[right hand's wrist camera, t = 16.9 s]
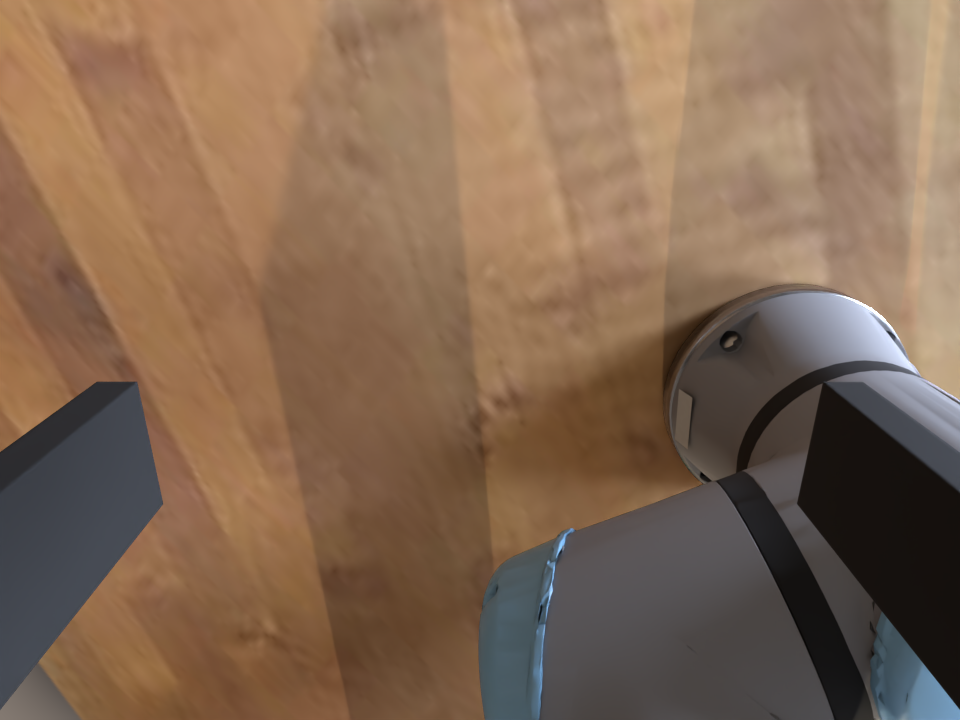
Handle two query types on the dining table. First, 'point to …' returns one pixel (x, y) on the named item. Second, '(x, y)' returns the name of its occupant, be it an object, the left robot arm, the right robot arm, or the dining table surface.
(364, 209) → the dining table surface
